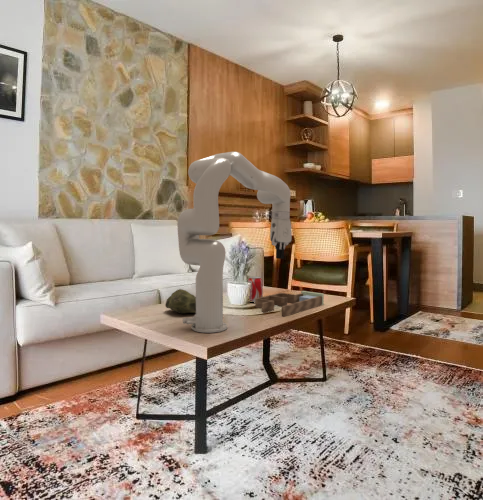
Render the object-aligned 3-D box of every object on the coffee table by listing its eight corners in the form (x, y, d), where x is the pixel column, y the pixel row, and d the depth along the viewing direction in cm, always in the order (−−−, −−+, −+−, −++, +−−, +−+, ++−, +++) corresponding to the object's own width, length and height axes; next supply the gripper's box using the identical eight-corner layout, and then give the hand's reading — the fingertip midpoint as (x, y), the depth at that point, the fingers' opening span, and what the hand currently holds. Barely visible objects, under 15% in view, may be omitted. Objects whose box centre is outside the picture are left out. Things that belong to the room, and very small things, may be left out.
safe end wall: (322, 304, 181) (322, 294, 181) (300, 301, 188) (301, 291, 188) (323, 304, 182) (323, 293, 181) (302, 301, 189) (302, 290, 189)
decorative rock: (196, 311, 175) (198, 288, 176) (206, 316, 160) (207, 291, 161) (163, 310, 170) (164, 287, 171) (169, 315, 155) (171, 290, 156)
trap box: (284, 316, 158) (284, 306, 158) (246, 309, 171) (246, 300, 171) (322, 304, 181) (322, 296, 181) (286, 299, 194) (286, 291, 193)
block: (310, 307, 176) (310, 298, 176) (299, 305, 181) (299, 296, 180) (317, 305, 181) (318, 296, 180) (306, 303, 185) (307, 295, 185)
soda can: (261, 304, 183) (261, 278, 182) (246, 303, 185) (246, 277, 184) (263, 301, 190) (263, 276, 189) (249, 300, 191) (249, 275, 191)
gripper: (277, 215, 165) (276, 259, 165) (297, 216, 176) (296, 258, 176) (263, 215, 170) (262, 258, 171) (284, 217, 181) (283, 257, 182)
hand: (280, 258), depth 173 cm, fingers closed
